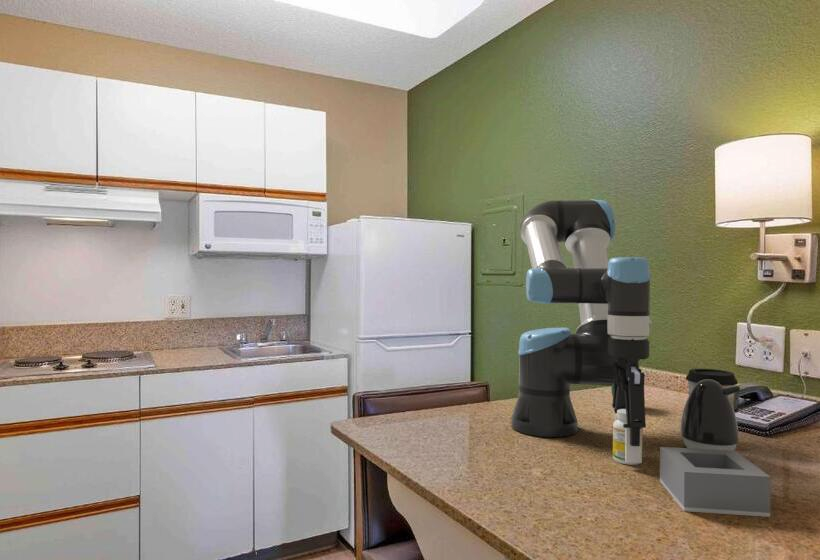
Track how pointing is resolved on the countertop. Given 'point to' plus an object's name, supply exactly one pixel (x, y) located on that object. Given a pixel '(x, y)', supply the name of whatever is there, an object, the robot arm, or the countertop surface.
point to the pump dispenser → (710, 417)
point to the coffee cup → (712, 378)
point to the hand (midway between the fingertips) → (627, 454)
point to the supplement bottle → (620, 438)
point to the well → (715, 481)
